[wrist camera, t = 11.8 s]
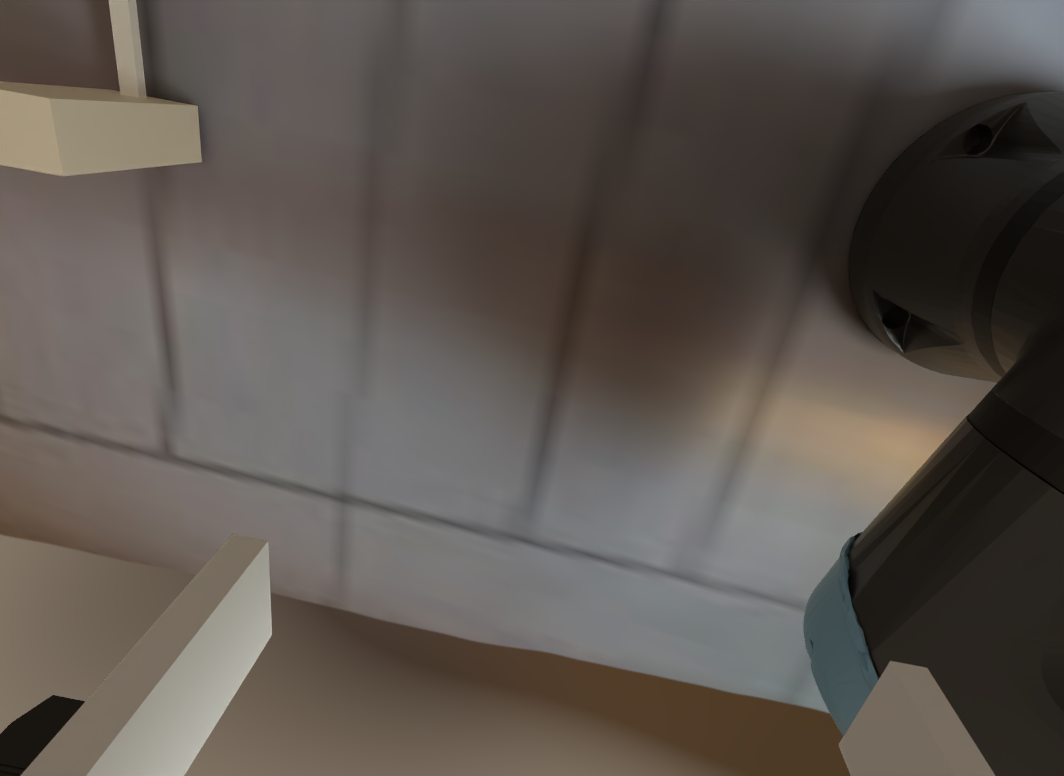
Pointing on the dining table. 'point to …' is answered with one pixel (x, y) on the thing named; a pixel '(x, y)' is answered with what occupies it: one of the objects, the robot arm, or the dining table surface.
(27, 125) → the block sled
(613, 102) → the dining table surface
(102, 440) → the dining table surface
